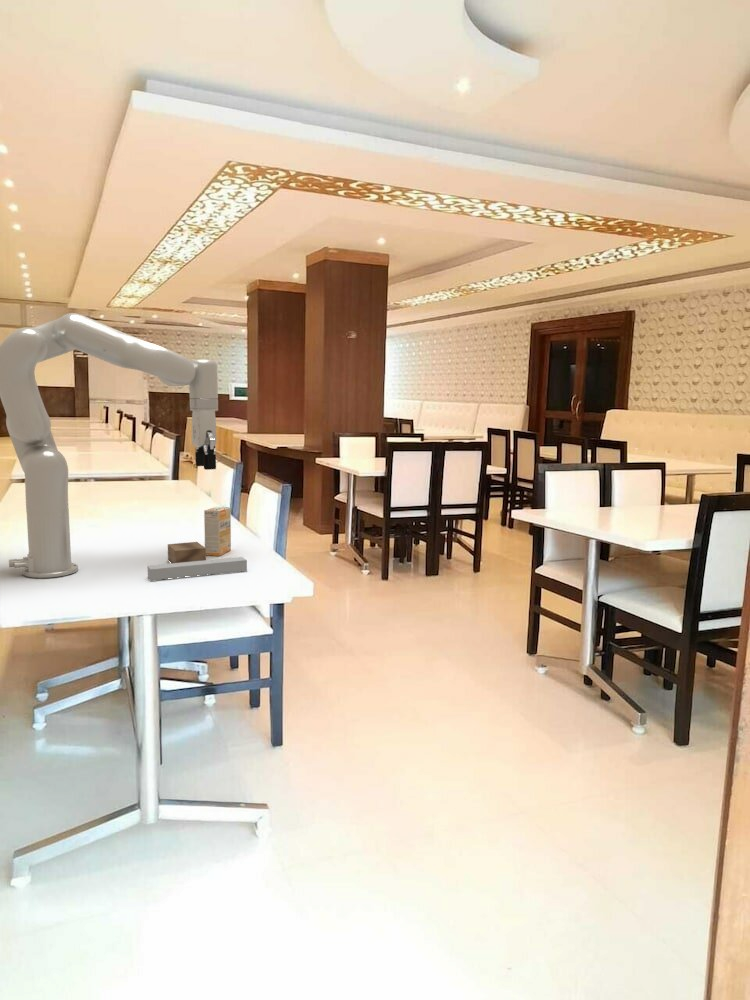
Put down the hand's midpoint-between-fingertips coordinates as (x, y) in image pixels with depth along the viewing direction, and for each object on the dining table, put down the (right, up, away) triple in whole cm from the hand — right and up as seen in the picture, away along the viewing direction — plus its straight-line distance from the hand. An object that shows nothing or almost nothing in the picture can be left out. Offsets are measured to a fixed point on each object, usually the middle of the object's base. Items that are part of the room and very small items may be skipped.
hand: (205, 467), depth 190 cm
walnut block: (-4, -26, -5) cm, 27 cm away
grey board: (+2, -28, -17) cm, 32 cm away
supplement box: (+2, -25, +8) cm, 26 cm away
